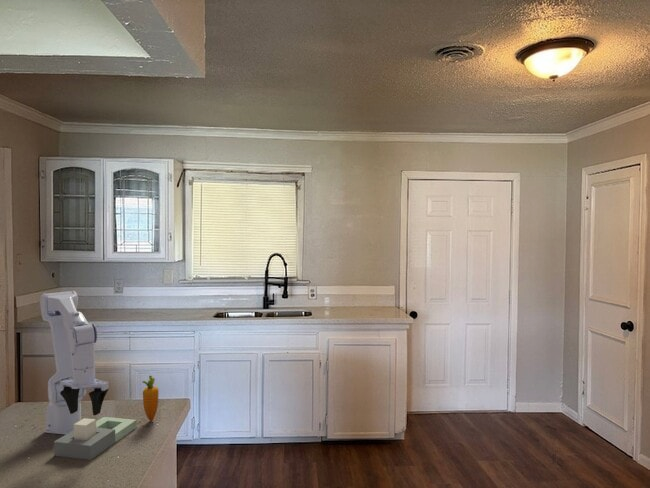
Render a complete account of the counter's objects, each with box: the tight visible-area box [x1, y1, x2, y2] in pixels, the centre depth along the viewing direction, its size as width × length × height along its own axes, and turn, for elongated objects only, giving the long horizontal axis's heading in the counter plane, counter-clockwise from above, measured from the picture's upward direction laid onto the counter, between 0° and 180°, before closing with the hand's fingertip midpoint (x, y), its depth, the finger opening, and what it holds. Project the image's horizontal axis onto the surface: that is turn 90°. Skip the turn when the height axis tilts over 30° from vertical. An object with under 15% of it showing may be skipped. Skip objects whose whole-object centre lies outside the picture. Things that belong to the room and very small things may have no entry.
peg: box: [74, 417, 97, 441], centre depth 127 cm, size 4×4×6 cm
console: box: [53, 416, 137, 461], centre depth 132 cm, size 20×12×4 cm, turn 168°
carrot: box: [142, 375, 159, 422], centre depth 144 cm, size 5×5×15 cm
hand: (85, 413), depth 126 cm, fingers open, 7 cm apart
